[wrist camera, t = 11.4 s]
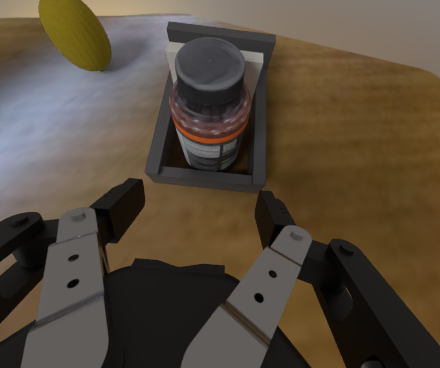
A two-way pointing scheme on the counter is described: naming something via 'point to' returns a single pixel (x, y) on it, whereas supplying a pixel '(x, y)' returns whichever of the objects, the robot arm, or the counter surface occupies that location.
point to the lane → (256, 171)
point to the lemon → (76, 33)
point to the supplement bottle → (210, 103)
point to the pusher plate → (251, 61)
